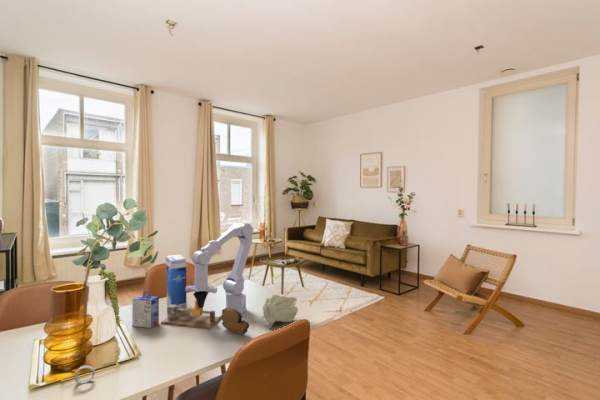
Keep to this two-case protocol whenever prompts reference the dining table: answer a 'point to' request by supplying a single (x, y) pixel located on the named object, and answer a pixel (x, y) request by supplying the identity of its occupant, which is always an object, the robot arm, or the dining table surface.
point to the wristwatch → (85, 380)
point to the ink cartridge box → (145, 311)
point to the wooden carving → (234, 321)
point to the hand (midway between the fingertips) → (201, 307)
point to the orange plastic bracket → (196, 310)
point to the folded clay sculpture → (279, 309)
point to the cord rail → (189, 318)
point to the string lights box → (176, 281)
